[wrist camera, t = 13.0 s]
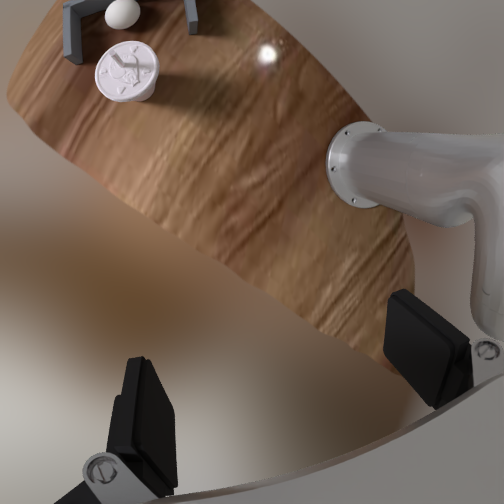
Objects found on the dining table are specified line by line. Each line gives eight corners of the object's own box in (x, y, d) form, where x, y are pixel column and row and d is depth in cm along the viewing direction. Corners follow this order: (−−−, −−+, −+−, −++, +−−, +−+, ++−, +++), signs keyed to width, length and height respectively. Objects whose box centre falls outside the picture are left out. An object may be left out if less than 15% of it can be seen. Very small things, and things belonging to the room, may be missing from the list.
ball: (136, 12, 24) (146, 26, 28) (131, -13, 23) (141, 1, 27) (101, 27, 24) (114, 39, 29) (98, 2, 23) (110, 14, 27)
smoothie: (148, 55, 30) (129, 11, 18) (175, 91, 33) (168, 60, 20) (107, 85, 31) (67, 57, 18) (133, 122, 33) (103, 108, 20)
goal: (189, -16, 28) (190, -31, 23) (196, 33, 31) (198, 20, 26) (73, 15, 25) (63, 3, 21) (76, 65, 29) (63, 56, 24)
